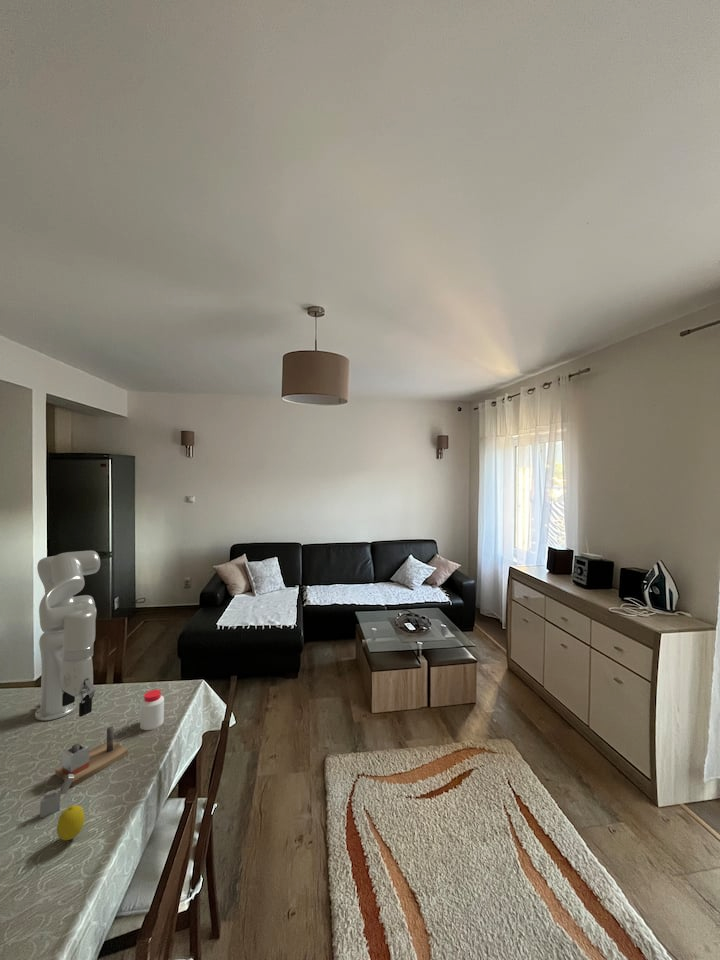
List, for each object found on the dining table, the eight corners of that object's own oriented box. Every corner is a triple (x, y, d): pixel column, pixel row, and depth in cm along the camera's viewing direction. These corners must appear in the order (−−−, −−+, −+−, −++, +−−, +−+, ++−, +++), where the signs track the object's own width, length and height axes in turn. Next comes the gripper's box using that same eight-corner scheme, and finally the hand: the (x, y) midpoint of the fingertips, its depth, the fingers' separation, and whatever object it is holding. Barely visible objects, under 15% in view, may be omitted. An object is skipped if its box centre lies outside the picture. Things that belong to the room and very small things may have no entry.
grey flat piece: (40, 818, 104) (40, 787, 104) (40, 814, 105) (40, 783, 105) (73, 804, 108) (74, 775, 108) (73, 800, 109) (73, 771, 110)
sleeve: (61, 771, 118) (62, 750, 118) (80, 761, 123) (80, 741, 123) (70, 777, 116) (70, 756, 116) (88, 766, 120) (89, 747, 120)
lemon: (66, 829, 100) (66, 798, 100) (89, 828, 101) (89, 797, 101) (50, 850, 95) (51, 816, 95) (75, 848, 95) (76, 815, 95)
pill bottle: (153, 731, 140) (154, 700, 140) (134, 728, 142) (135, 697, 142) (168, 719, 148) (169, 689, 148) (150, 716, 149) (150, 686, 149)
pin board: (55, 774, 119) (56, 745, 119) (110, 744, 133) (111, 718, 133) (72, 787, 114) (73, 757, 114) (127, 754, 128) (128, 728, 128)
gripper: (49, 650, 121) (48, 706, 121) (79, 664, 112) (77, 725, 112) (77, 641, 127) (75, 695, 127) (107, 654, 119) (105, 711, 119)
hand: (76, 709), depth 120 cm, fingers open, 9 cm apart
